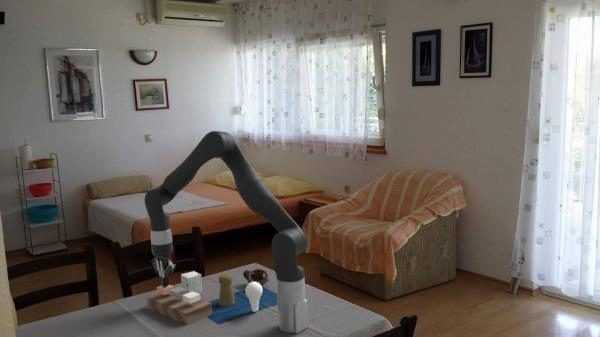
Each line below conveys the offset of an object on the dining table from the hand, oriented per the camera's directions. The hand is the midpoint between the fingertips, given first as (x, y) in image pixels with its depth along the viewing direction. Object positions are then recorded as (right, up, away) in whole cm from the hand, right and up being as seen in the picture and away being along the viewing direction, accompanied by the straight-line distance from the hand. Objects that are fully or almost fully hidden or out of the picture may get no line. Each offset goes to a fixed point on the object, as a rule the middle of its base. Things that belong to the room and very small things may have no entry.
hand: (165, 286), depth 193 cm
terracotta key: (0, -2, 0) cm, 2 cm away
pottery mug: (+32, -4, +18) cm, 37 cm away
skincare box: (+7, -6, +13) cm, 16 cm away
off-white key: (+12, -3, -10) cm, 16 cm away
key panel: (+6, -8, -4) cm, 11 cm away
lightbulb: (+34, -8, -7) cm, 36 cm away
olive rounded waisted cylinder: (+23, -7, +1) cm, 24 cm away
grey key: (+6, -2, -5) cm, 8 cm away
